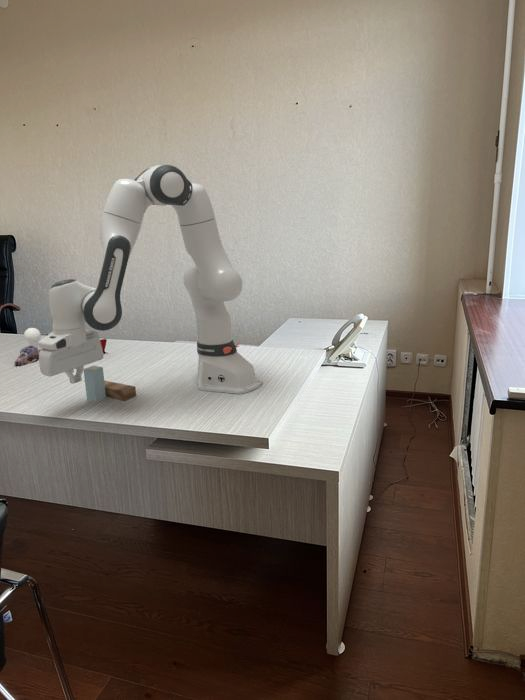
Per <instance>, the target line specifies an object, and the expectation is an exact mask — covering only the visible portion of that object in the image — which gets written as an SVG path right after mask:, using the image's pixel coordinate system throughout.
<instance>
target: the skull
mask: <svg viewBox="0 0 525 700" xmlns="http://www.w3.org/2000/svg"><path fill="white" fill-rule="evenodd" d="M39 353H40V351H39V348H38V349H37V348H36V347H35V346H32V345H30V346H29V345H28V346H25V347H23V348H21V349H20V351H19V355H18V357H17V358H16V359H15V361H14V366H17V365H18V366H20V365H21V367H23V365H24V366H26V365H28V364H32V363H34V362H37V361H38V362H39Z"/></svg>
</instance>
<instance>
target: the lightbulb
mask: <svg viewBox="0 0 525 700" xmlns="http://www.w3.org/2000/svg"><path fill="white" fill-rule="evenodd" d="M41 337H42V335H41V331H40V330H39V329H38V328H35V327H29V328H27V329H25V331H24V333H23V338H24V340H25V341H26V342H27V343H28V346H30V345H32V346H35V347H36V348H37V349H38V350H39V345H38V342H39V341H40V340H41Z"/></svg>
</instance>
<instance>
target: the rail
mask: <svg viewBox="0 0 525 700" xmlns="http://www.w3.org/2000/svg"><path fill="white" fill-rule="evenodd" d="M104 383H105V392H106V398H111V399H114V400H115V399H116V400H119V401H120V400H121V401H123V402H124V401H125V402H126V401H127V400H129V399H132V398H135V397H136V396H137V390H136V389H137V388H136V386H134V385H129V384H125V383H120V382H119V383H118V382H115V381H111V380H106V379H104Z"/></svg>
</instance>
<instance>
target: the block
mask: <svg viewBox="0 0 525 700" xmlns="http://www.w3.org/2000/svg"><path fill="white" fill-rule="evenodd" d="M83 376H84V385H85V392H86V394H85V395H86V401H89V400H90V401H89V402H93V401H94V402H95V403H98V402H100V401H104V400H105V399H107V397H106V392H105V383H104V380H105V375H104V367H102V366H99V365H91V366H88V367H84V370H83Z"/></svg>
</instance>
